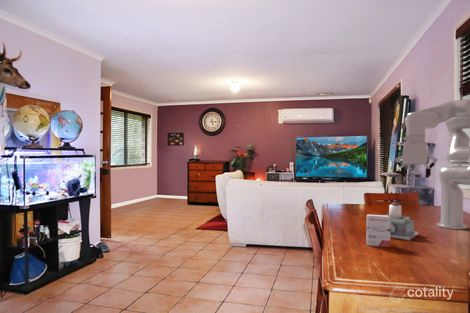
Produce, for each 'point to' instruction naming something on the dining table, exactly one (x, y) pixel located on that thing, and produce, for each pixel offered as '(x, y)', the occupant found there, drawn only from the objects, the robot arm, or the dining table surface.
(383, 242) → the ink box
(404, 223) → the motor
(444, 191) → the robot arm
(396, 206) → the white cylinder
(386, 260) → the dining table surface
